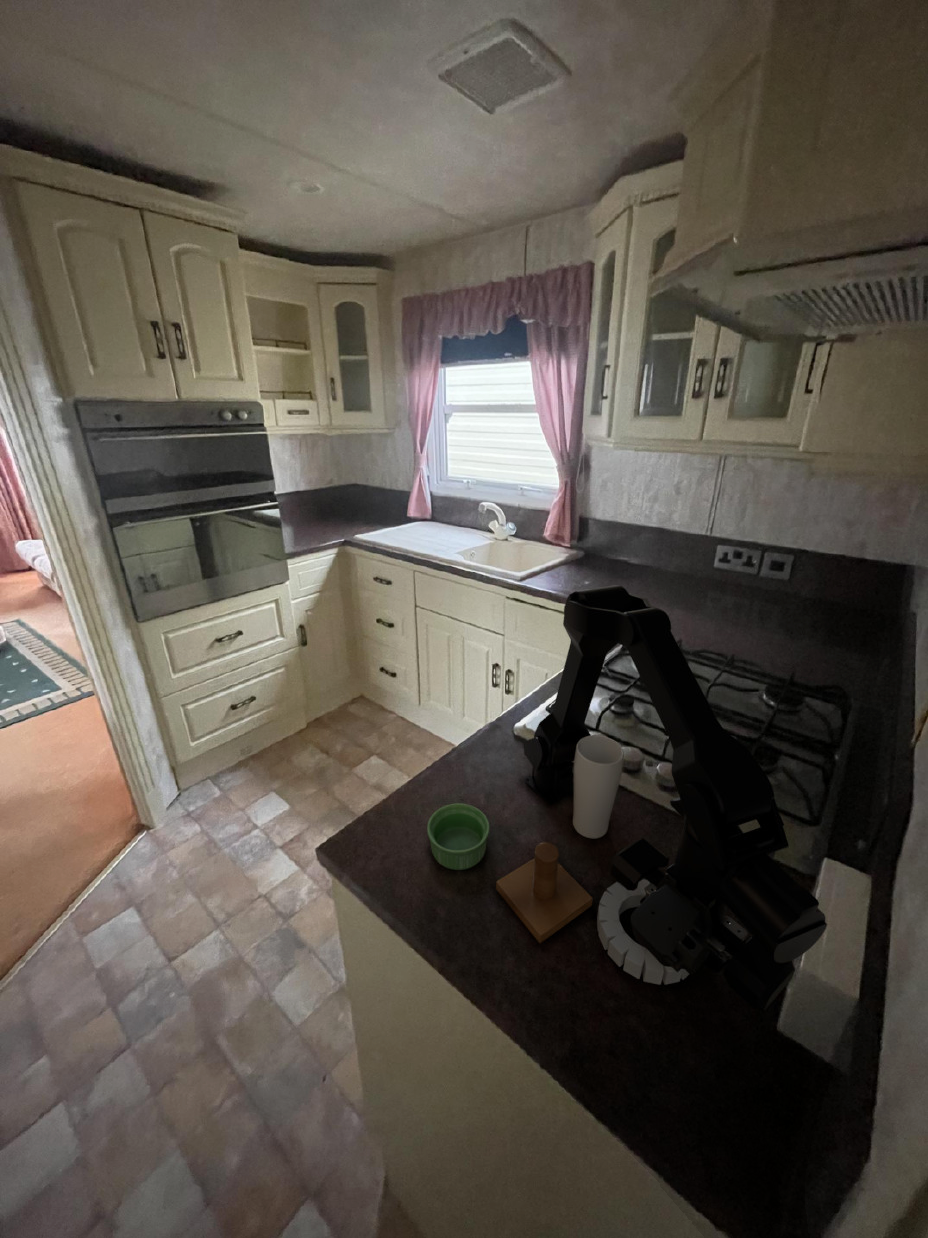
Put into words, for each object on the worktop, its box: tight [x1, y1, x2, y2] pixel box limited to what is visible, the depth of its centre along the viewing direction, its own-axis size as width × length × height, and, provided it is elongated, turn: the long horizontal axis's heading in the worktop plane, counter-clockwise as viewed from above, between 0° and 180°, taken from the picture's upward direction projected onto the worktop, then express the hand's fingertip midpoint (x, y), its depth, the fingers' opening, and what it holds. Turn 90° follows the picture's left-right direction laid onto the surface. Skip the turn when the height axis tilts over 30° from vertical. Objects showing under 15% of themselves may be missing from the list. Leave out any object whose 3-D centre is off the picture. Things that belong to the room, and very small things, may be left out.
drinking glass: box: [572, 734, 625, 840], centre depth 76 cm, size 7×7×15 cm
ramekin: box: [426, 802, 490, 871], centre depth 75 cm, size 9×9×4 cm
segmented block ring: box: [596, 878, 690, 986], centre depth 63 cm, size 12×12×2 cm
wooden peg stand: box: [495, 841, 594, 944], centre depth 67 cm, size 9×9×8 cm
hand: (680, 960), depth 59 cm, fingers closed on segmented block ring, 2 cm apart
